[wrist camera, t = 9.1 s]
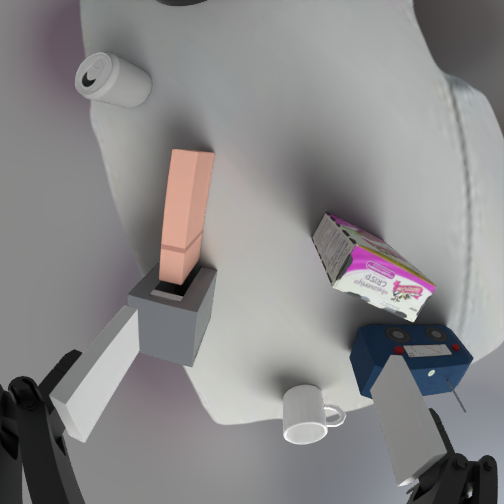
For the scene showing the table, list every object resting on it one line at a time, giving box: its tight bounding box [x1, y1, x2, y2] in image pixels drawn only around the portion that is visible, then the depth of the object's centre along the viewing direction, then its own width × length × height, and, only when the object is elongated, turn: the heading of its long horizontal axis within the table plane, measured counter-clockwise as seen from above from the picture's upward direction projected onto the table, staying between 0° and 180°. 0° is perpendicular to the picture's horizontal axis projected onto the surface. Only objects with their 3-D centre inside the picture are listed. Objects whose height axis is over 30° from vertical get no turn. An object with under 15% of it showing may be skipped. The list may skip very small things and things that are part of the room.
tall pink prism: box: [159, 149, 215, 285], centre depth 35 cm, size 16×3×9 cm, turn 169°
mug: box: [283, 385, 346, 444], centre depth 46 cm, size 8×12×10 cm
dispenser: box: [127, 262, 217, 367], centre depth 39 cm, size 9×9×12 cm
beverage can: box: [75, 52, 152, 108], centre depth 29 cm, size 6×6×12 cm
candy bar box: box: [312, 212, 436, 322], centre depth 32 cm, size 11×5×16 cm, turn 67°
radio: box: [349, 324, 473, 412], centre depth 36 cm, size 21×9×20 cm, turn 85°
